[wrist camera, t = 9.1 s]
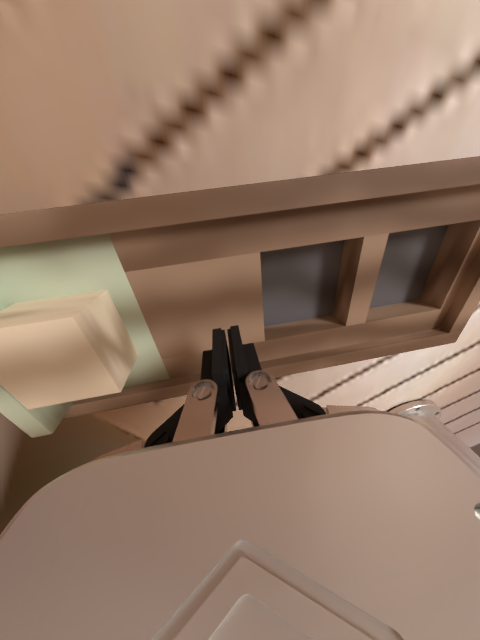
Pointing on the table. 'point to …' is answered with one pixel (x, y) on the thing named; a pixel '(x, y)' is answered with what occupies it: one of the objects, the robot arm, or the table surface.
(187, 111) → the table surface
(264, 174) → the table surface
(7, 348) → the maple block
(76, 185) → the table surface
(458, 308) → the tray
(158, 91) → the table surface
